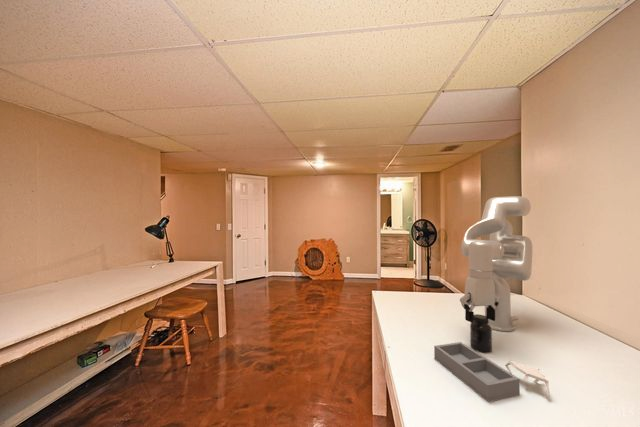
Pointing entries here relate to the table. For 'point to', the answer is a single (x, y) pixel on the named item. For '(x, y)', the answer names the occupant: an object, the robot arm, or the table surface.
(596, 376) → the table surface
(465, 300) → the robot arm
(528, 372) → the origami figure
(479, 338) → the supplement bottle
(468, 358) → the divided tray
